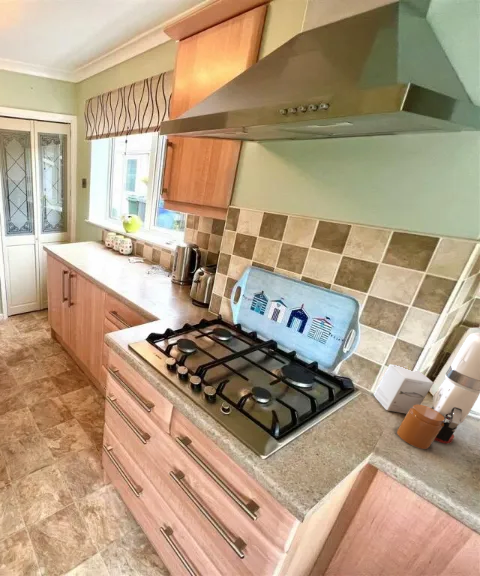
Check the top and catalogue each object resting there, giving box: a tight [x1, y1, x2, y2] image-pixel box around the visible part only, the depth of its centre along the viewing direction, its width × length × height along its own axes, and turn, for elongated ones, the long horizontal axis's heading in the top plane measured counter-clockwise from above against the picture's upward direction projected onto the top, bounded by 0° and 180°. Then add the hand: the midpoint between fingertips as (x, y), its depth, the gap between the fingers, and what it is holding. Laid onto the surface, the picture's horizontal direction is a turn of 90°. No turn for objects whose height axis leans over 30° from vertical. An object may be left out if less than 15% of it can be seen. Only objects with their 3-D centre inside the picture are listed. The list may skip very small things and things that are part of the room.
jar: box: [396, 404, 446, 450], centre depth 82 cm, size 7×7×10 cm
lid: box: [434, 433, 455, 444], centre depth 86 cm, size 7×7×2 cm
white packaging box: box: [373, 363, 434, 415], centre depth 94 cm, size 7×7×13 cm
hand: (437, 427), depth 86 cm, fingers open, 9 cm apart
